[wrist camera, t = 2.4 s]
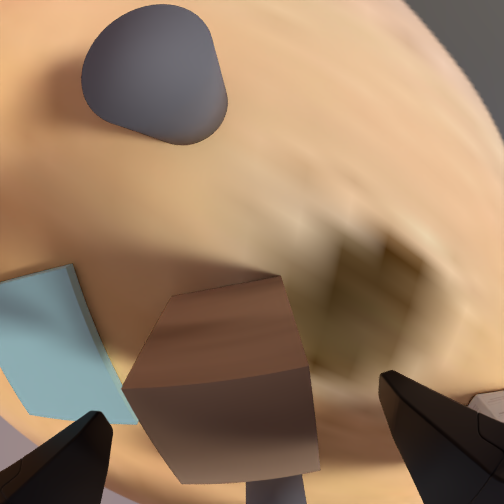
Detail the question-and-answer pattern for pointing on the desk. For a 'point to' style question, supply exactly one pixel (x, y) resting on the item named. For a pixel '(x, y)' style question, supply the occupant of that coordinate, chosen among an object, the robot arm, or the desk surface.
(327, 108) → the desk surface
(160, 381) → the walnut block
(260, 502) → the cylinder
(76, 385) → the pale teal mat
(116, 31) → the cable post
